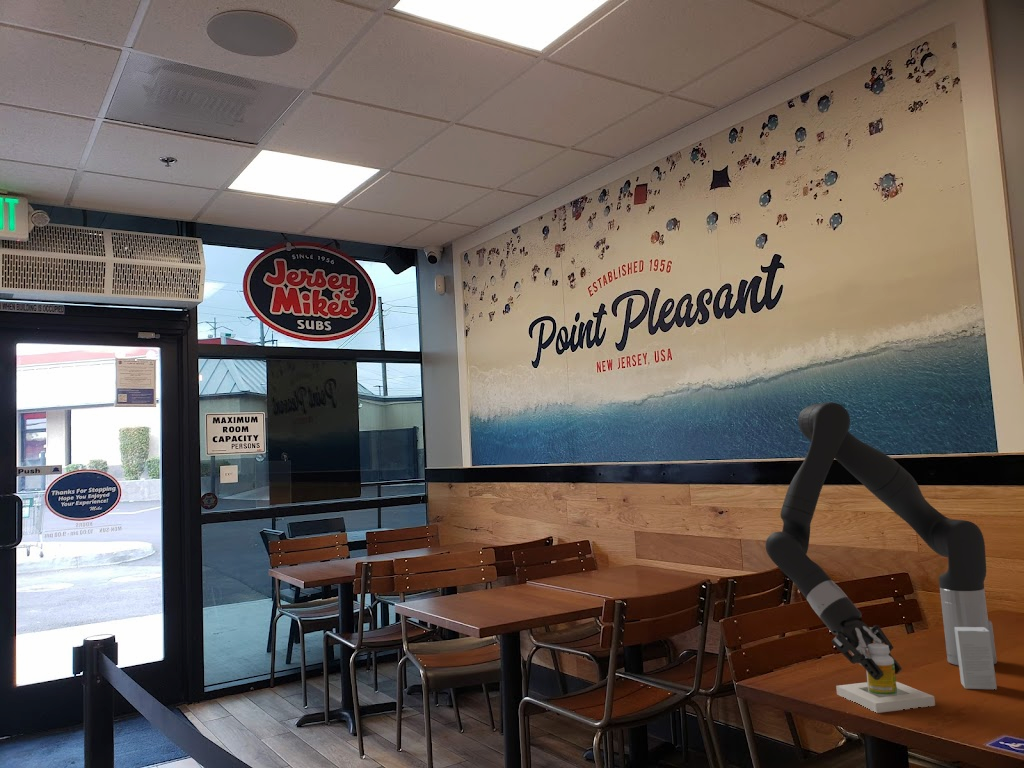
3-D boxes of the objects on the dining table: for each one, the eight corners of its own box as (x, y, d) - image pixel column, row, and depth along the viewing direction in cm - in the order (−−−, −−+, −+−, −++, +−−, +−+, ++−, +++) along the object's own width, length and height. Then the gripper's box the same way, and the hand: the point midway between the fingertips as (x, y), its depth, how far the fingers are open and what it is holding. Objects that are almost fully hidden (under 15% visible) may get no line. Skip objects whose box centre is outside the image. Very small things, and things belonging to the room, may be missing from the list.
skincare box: (992, 684, 166) (985, 626, 167) (997, 690, 161) (990, 631, 163) (959, 683, 167) (953, 626, 169) (964, 689, 163) (957, 630, 165)
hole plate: (891, 688, 167) (890, 679, 167) (935, 705, 154) (934, 696, 154) (837, 694, 164) (836, 685, 164) (876, 713, 152) (875, 703, 152)
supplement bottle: (900, 698, 156) (895, 648, 157) (871, 698, 157) (867, 648, 158) (893, 690, 162) (888, 642, 162) (865, 690, 163) (861, 642, 164)
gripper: (821, 600, 164) (878, 670, 153) (863, 591, 171) (921, 658, 160) (802, 622, 168) (856, 692, 157) (844, 613, 175) (899, 679, 164)
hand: (889, 674), depth 158 cm, fingers closed on supplement bottle, 5 cm apart
